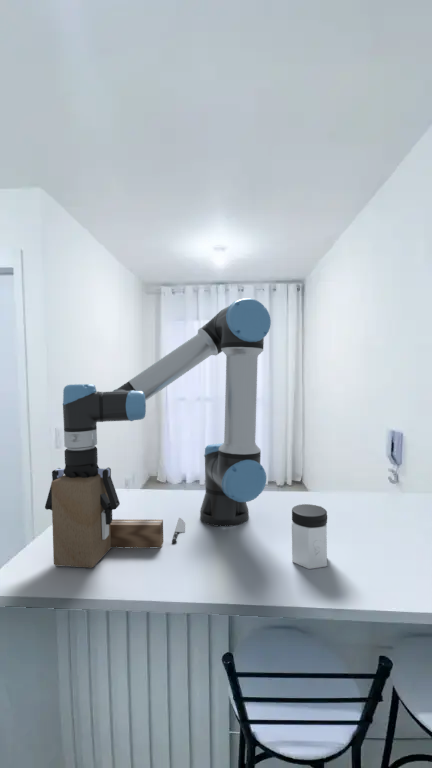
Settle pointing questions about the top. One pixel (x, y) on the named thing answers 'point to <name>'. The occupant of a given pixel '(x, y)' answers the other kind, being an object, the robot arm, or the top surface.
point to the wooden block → (78, 521)
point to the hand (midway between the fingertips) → (83, 537)
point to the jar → (309, 536)
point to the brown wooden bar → (136, 533)
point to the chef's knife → (178, 529)
